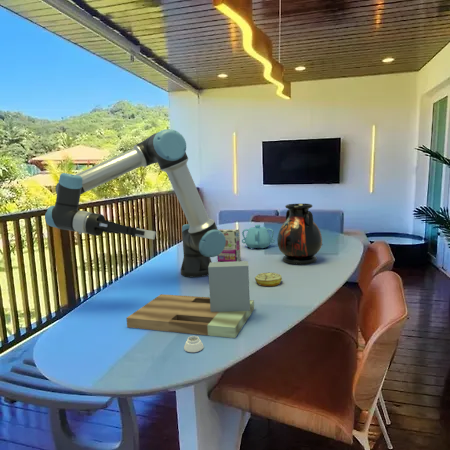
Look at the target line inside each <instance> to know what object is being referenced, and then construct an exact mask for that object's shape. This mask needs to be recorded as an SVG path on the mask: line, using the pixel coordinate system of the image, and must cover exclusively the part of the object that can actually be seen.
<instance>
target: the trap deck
mask: <svg viewBox="0 0 450 450" xmlns="http://www.w3.org/2000/svg"><path fill="white" fill-rule="evenodd" d="M254 310H255V300H252V299H250V311H225V312H211V309H210V296H193V295H178V294H163V293H162V294H159V295H157V296H156V297H155V298H153V299H152V300H150V301H149V302H148V303H145V305H143V306H141V307H140V308H138V309H137V310H136V311H135V312H133V313H131V314H130V315H129V316H127V317H126V328H129V329H138V328H139V329H140V330H152V331H157V332H158V331H160V332H169V333H170V332H171V333H180V334H181V333H182V334H188V335H189V334H190V335H201V336H208V337H209V336H211V337H221V338H230V339H236V338H237V336H238V335H239V333H240V332H241V330H242V329H243V327H244V326H245V324H246V323H247V321H248V320H249V318H250V316H251V315H252V314H253V312H254Z"/></svg>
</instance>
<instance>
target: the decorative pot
mask: <svg viewBox="0 0 450 450" xmlns="http://www.w3.org/2000/svg"><path fill="white" fill-rule="evenodd" d="M269 231H270V232H271V235H270V232H269ZM245 232H247V233H246V235H245ZM274 233H275V232H274V230H273V229H272V228H267V227H264V226H261V225H260V224H254V227H253V226H252V227H249V228H245V229H243V230H242V232H241V234H242V240H241V243H243V244H245V245H246V246H247V247H248V248H255V249H256V248H257V249H258V248H259V249H261V248H265V249H266V248H268V247H269V246H270V245H271V244H274V243H275V238H274Z"/></svg>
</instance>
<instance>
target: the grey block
mask: <svg viewBox="0 0 450 450" xmlns="http://www.w3.org/2000/svg"><path fill="white" fill-rule="evenodd" d="M208 272H209V275H208V289H209V297H210V309H211V312H225V311H250V300H251V299H250V277H249V274H250V273H249V261H248V260H241V261H235V262H218V261H217V262H216V261H214V262H213V261H212V262H210V263H209V266H208Z"/></svg>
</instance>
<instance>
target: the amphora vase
mask: <svg viewBox="0 0 450 450" xmlns="http://www.w3.org/2000/svg"><path fill="white" fill-rule="evenodd" d="M284 207H285V209H287V210H286V213H285V221H284V222H283V223H282V224H281V226H280V228H279V230H278V233H277V247H278V249H279V251H280V252H281V253H282V254H283V255H284V256H283V257H282V260H283V262H285V263H287V264H289V265H301V266H302V265H310V264H313V263H315V262H317V260H318V258H317V256H316V255H317V254H318V253H319V251H320V250H321V249H322V245H323V238H322V233H321V230H320V228H319V226H318V225H317V223H315V220H314V216H313V213H312V212H311V211H310V209H312V208H313V204H311V203H289V204H286V205H285V206H284Z"/></svg>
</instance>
